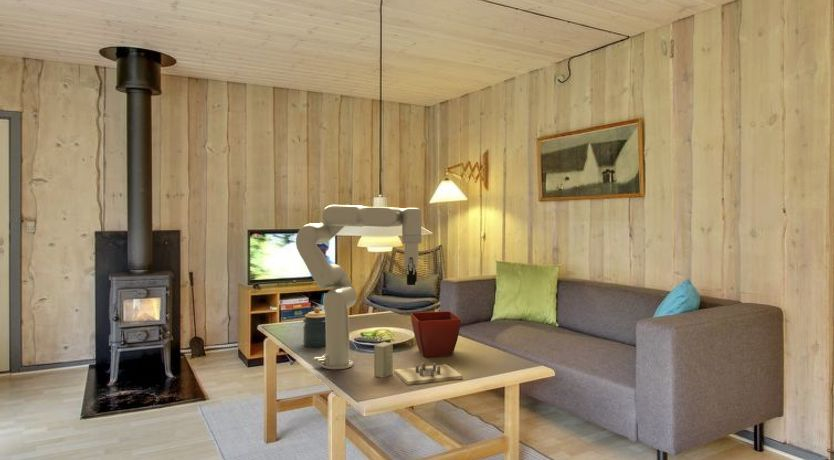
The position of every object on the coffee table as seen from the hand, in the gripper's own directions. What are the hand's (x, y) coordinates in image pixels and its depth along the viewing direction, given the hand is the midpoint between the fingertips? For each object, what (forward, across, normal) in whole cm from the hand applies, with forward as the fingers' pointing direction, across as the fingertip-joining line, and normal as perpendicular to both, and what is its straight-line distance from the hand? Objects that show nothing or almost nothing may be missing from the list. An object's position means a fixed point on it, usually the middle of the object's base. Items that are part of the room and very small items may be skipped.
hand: (411, 283), depth 209 cm
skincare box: (+35, +5, -11) cm, 37 cm away
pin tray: (+35, +4, +6) cm, 36 cm away
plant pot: (+35, -29, +8) cm, 47 cm away
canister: (+35, -41, -48) cm, 72 cm away
